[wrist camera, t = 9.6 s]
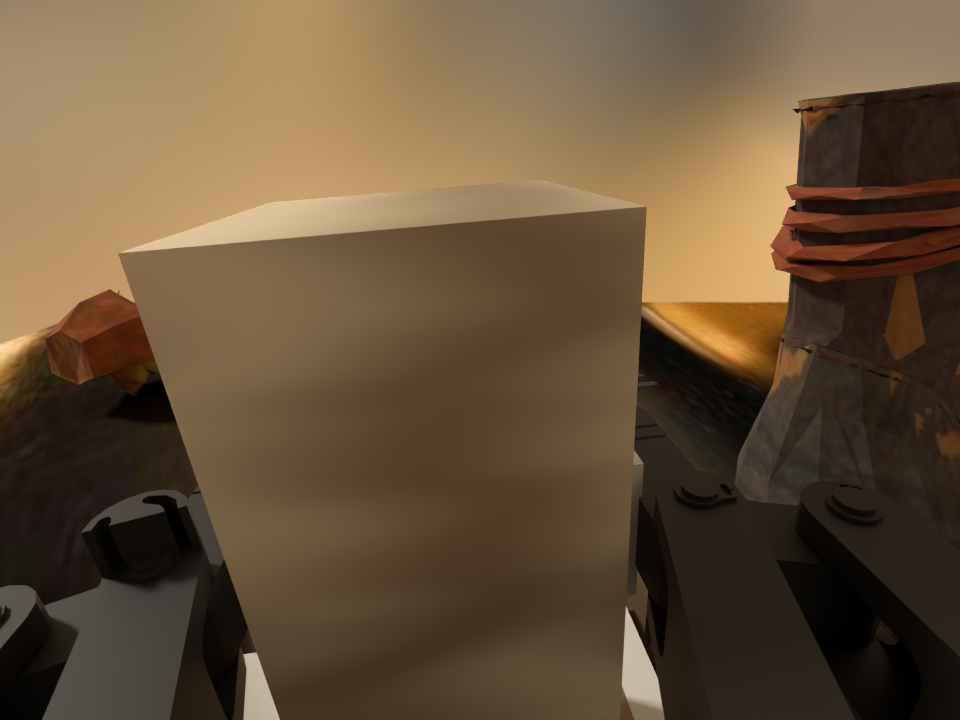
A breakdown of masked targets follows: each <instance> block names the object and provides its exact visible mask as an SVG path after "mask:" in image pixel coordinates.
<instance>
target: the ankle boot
mask: <svg viewBox="0 0 960 720" xmlns="http://www.w3.org/2000/svg"><path fill="white" fill-rule="evenodd" d="M798 103H799V107H800V109H793V110H794V111H795V112H796V113H799V112H800V111H801V115H802V116H801V130H800V144H799V158H798V172H797V184H794V185H791V186H787V187H786V188H787V191H788V193H789V195H790V197H791V199H792V200H796V201H795V205H794V206H792V207H789V208H788V210H787V212H786V215H785V218H784V220H783V223H782V224H783V225H784V226H783V227H782V228H781V230H780V232H779V233H778V235H777V236H776V238H775V239H774V241H773V243H772V244H771V247H772V248H773V249H774V250H775V251H774V252H773V253H772V254H771V255H772V258H773V261H774V265H775V268H776V269H777V270H781V271H785V272H788V273H791V274H790V286H789V301H788V310H787V315H786V320H785V325H784V329H783V331H782V336H781V337H780V339H781V342H780V348H779V354H778V360H777V366H776V372H775V378H774V383H773V385H772V388H771V390H770V392H769V394H768V396H767V398H766V400H765V402H764V404H763V406H762V409H761V411H760V413H759V415H758V417H757V419H756V421H755V423H754V425H753V427H752V429H751V431H750V433H749V435H748V437H747V439H746V441H745V443H744V445H743V447H742V449H741V451H740V453H739V455H738V462H737V471H736V480H735V486H736V487H737V488H738V489H739V490H740V492H741V493H742V494H743V495H744V497H745V499H746V500H750V501H757V502H765V503H776V504H786V505H797V506H799V501H800V496H801V491H802V490H803V489H804V488H805V487H806V486H807V485H808V484H811V483H815V482H819V481H843V482H848V483H855V484H859V485H862V486H864V487H866V488H869V489H872V490H874V491H877V492H879V493H881V494H883V495H884V496H886V497H888V498H889V499H891V500H893V501H894V502H896V503H897V504H899V505H900V506H901V507H903V508H904V509H905V510H907V511H908V512H909V513H911V514H912V515H913V516H914V517H916V518H917V519H918V520H920V521H921V522H922V523H924V524H925V525H926V526H928V527H929V528H930V529H932V530H933V531H934V532H935V533H937V534H938V535H939V536H941V537H942V538H943V539H945V540H946V541H947V542H949V543H950V544H951V545H953V546H954V547H955V548H956V549H958V550H959V551H960V82H951V83H942V84H934V85H927V86H918V87H910V88H903V89H894V90H886V91H877V92H867V93H855V94H847V95H839V96H832V97H824V98H816V99H808V100H802V101H798ZM879 625H880V626H881V627H882V628H883V629H884V630H885V631H886V632H887V633H888V634H889V635H890V636H891V635H893V636H891V637H892V638H893V639H895V640H896V641H899V638H898V637H897V636H896V635H895V634H894V633H893V632H892V631H891V630H890V629H889V628H888V627H887V626H886V625H885V624H884V622H883V621H882V620H880V623H879Z"/></svg>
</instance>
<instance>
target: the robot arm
mask: <svg viewBox="0 0 960 720" xmlns="http://www.w3.org/2000/svg"><path fill="white" fill-rule="evenodd" d="M81 534H82V536H83V538H84V540H85V542H86V544H87V546H88V548H89V551H90V553H91V555H92V557H93V559H94V561H95V563H96V565H97V567H98V569H99V572H100V574H101V576H102V580H101V583H100V585H99V587H97V588H95V589H92V590H89V591H86V592H83V593H80V594H77V595H74V596H71V597H68V598H65V599H62V600H59V601H56V602H54V603H51V604H48V605H45V606H44V605H43V603H42V602H41V600H40V598H39V596H38V594H37V593H36V591H35V590H33V589H32V588H30V587H29V586H27V585H10V586H6V587H2V588H0V720H243V718H244V703H245V688H246V672H247V669H246V664H245V658H244V655H243V653H242V650H241V647H240V646H241V643H242V641H243V638H244V635H245V633H246V630H247V627H248V626H247V623H246V620H245V618H244V615H243V612H242V609H241V606H240V603H239V600H238V597H237V594H236V592H235V589H234V586H233V583H232V580H231V577H230V574H229V571H228V568H227V566H226V563H225V560H224V557H223V554H222V551H221V548H220V545H219V543H218V540H217V537H216V534H215V531H214V528H213V525H212V522H211V519H210V517H209V514H208V511H207V508H206V505H205V502H204V499H203V496H202V493H201V491H200V488H199V485H198V486H197V487H196V489H195V490H194V492H193V495H191V496H190V497H189V499H188V500H187V498H186V496H184V495H183V494H181V493H180V492H178V491H171V490H159V491H152V492H146V493H143V494H140V495H137V496H134V497H131V498H128V499H125V500H123V501H121V502H119V503H117V504H115V505H113V506H111V507H109V508H107V509H106V510H105V511H103V512H102V513H100V514H99V515H98V516H96V517H95V518H94V519H92V520H91V521H90V522H89V524H88V525H87V526H86V527H85V528H84V530H83V531H82V532H81ZM637 570H638V572H639V574H640V576H641V578H642V580H643V582H644V584H645V586H646V587H647V589H648V602H647V616H646V629H645V643H644V645H647V646H651V642H652V647H653V653H654V659H655V665H656V671H657V677H658V683H659V689H660V695H661V701H662V707H663V712H664V718H665V720H960V551H959V550H958V549H956V548H955V547H954V546H953V545H951V544H950V543H949V542H947V541H946V540H945V539H943V538H942V537H941V536H939V535H938V534H937V533H935V532H934V531H933V530H932V529H930V528H929V527H928V526H926V525H925V524H924V523H922V522H921V521H920V520H918V519H917V518H916V517H914V516H913V515H912V514H911V513H909V512H908V511H907V510H905V509H904V508H903V507H901V506H900V505H899V504H897V503H896V502H894V501H893V500H891V499H889V498H888V497H886V496H884V495H883V494H881V493H879V492H877V491H874V490H872V489H869V488H866V487H864V486H862V485H859V484H855V483H848V482H843V481H819V482H815V483H811V484H808V485H807V486H806V487H805V488H804V489H803V490H802V491H801V496H800V501H799V506H797V505H786V504H776V503H765V502H757V501H750V500H746V499H745V497H744V495H743V494H742V493H741V492H740V490H739V489H738V488H737V487H736V486H735V485H734V484H732V483H730V482H729V481H727V480H726V479H724V478H722V477H720V476H717V475H714V474H711V473H708V472H703V471H697V470H696V469H695V468H694V466H693V465H692V464H691V463H690V462H689V461H688V459H687V458H686V457H685V456H684V455H683V453H682V452H681V451H680V450H679V449H678V448H677V446H676V445H675V444H674V443H673V442H672V440H671V439H670V438H669V437H667V436H666V433H665V432H664V431H663V430H662V429H661V427H660V426H658V425H657V423H656V422H655V420H654V419H653V418H652V417H651V416H650V415H649V413H648V412H647V411H645V410H644V409H642V408H640V407H638V406H636V421H635V440H634V459H633V479H632V498H631V518H630V537H629V556H628V576H627V595H633V594H636V584H637ZM880 620H882V621H883V622H884V624H885V625H886V626H887V627H888V628H889V629H890V630H891V631H892V632H893V633H894V634H895V635H896V636H897V637H898V638H899V641H896V640H895V639H893V638H892V637H891V636H890V635H889V634H888V633H887V632H886V631H885V630H884V629H883V628H882V627H881V626H880V625H879V623H880Z"/></svg>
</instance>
